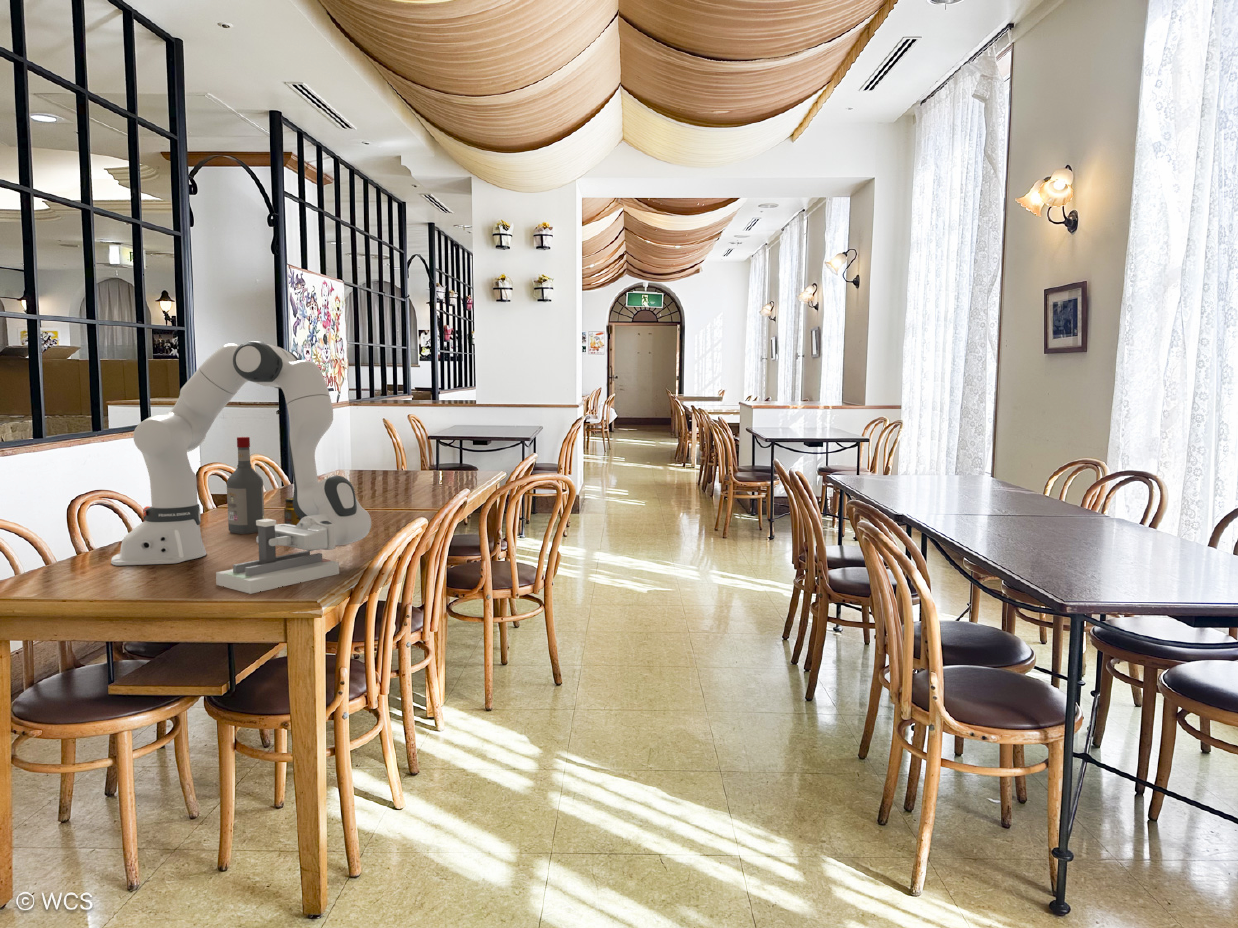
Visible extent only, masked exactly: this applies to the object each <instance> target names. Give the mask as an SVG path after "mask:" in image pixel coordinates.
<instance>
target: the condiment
mask: <svg viewBox="0 0 1238 928" xmlns="http://www.w3.org/2000/svg"><path fill="white" fill-rule="evenodd" d="M284 505H285V507H284V508H283V513H284V514H283V515H284V516H283V517H284V518H283V519H284V524H291V525H297V524H298V523H299V522H300V520H301V519H300V518H299V517H298V516H297V515H296V513H295V511H294V508H293V497H287V498H285V503H284Z"/></svg>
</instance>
